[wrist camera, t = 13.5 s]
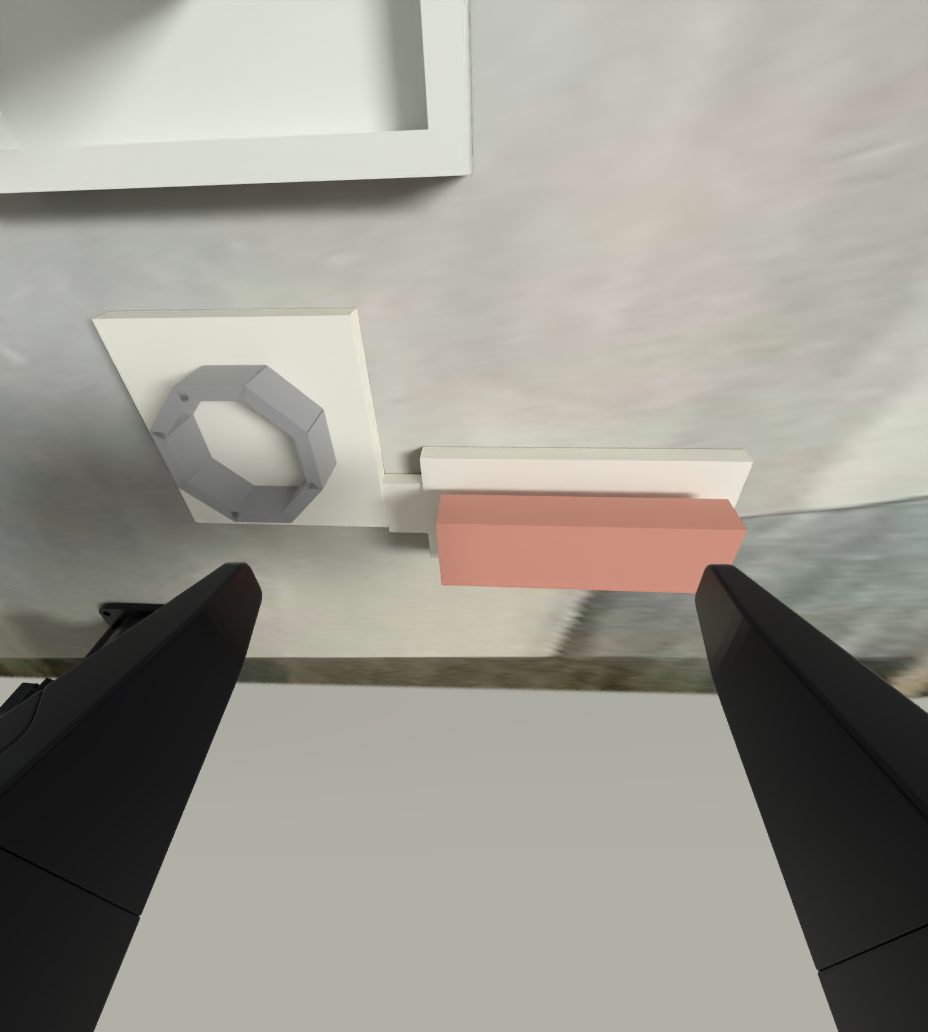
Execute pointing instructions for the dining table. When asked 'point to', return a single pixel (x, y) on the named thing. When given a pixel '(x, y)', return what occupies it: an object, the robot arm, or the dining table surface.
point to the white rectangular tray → (231, 92)
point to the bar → (584, 541)
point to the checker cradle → (339, 429)
